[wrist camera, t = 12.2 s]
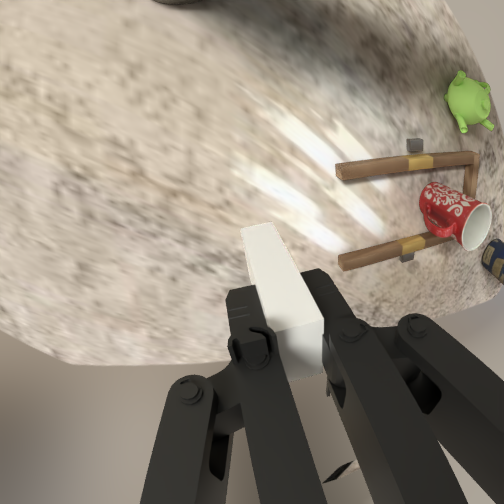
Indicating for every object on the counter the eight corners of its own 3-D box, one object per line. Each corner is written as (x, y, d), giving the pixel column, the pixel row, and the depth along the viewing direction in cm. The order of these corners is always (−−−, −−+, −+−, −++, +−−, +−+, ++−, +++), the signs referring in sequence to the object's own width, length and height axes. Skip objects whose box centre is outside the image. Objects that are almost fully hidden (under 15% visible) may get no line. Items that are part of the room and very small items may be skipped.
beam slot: (333, 145, 41) (340, 148, 39) (472, 137, 43) (480, 140, 41) (338, 277, 54) (343, 284, 52) (459, 240, 56) (466, 245, 54)
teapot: (470, 74, 36) (501, 79, 29) (472, 126, 42) (502, 136, 35) (435, 68, 36) (468, 70, 29) (439, 126, 42) (471, 136, 34)
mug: (447, 174, 47) (495, 199, 35) (444, 214, 52) (487, 244, 40) (402, 183, 46) (451, 213, 35) (400, 227, 51) (443, 263, 40)
